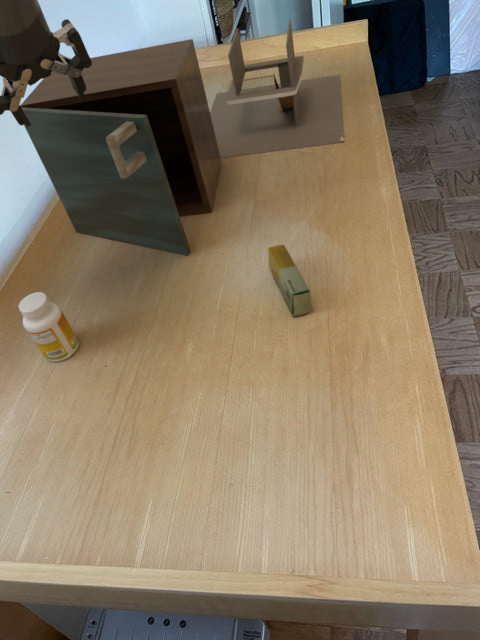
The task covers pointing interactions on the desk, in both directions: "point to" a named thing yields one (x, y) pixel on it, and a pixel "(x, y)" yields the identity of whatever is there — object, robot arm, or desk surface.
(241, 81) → the grey brown stand-shaped piece
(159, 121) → the cupboard
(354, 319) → the desk surface
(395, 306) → the desk surface
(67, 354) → the supplement bottle
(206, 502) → the desk surface
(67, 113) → the door
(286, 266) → the medication box
